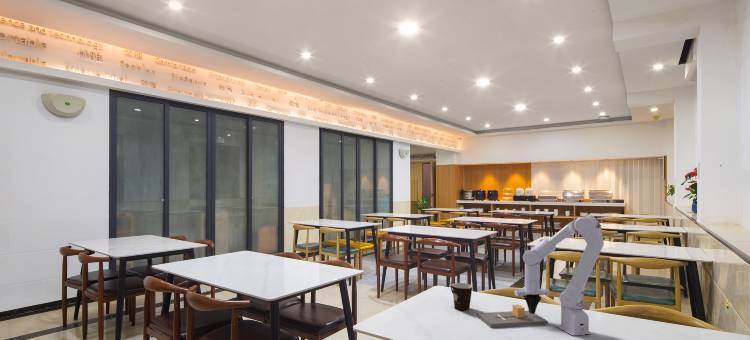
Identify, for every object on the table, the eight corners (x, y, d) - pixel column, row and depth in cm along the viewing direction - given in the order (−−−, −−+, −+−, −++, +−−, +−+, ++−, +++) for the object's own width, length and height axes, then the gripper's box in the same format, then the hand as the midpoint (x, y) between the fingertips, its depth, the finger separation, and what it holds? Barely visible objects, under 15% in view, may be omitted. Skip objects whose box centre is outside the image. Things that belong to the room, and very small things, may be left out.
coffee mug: (474, 312, 166) (474, 288, 166) (453, 311, 166) (454, 288, 166) (468, 303, 177) (468, 281, 178) (449, 302, 178) (449, 281, 178)
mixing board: (547, 324, 153) (547, 320, 153) (491, 327, 148) (491, 323, 149) (530, 314, 165) (530, 310, 165) (477, 316, 160) (477, 312, 160)
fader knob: (524, 317, 155) (524, 307, 155) (517, 317, 155) (517, 308, 155) (519, 313, 159) (519, 304, 159) (512, 314, 159) (512, 304, 159)
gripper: (542, 276, 164) (542, 308, 163) (510, 277, 161) (510, 310, 161) (552, 281, 157) (552, 314, 156) (520, 282, 154) (519, 316, 154)
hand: (531, 313), depth 158 cm, fingers closed
